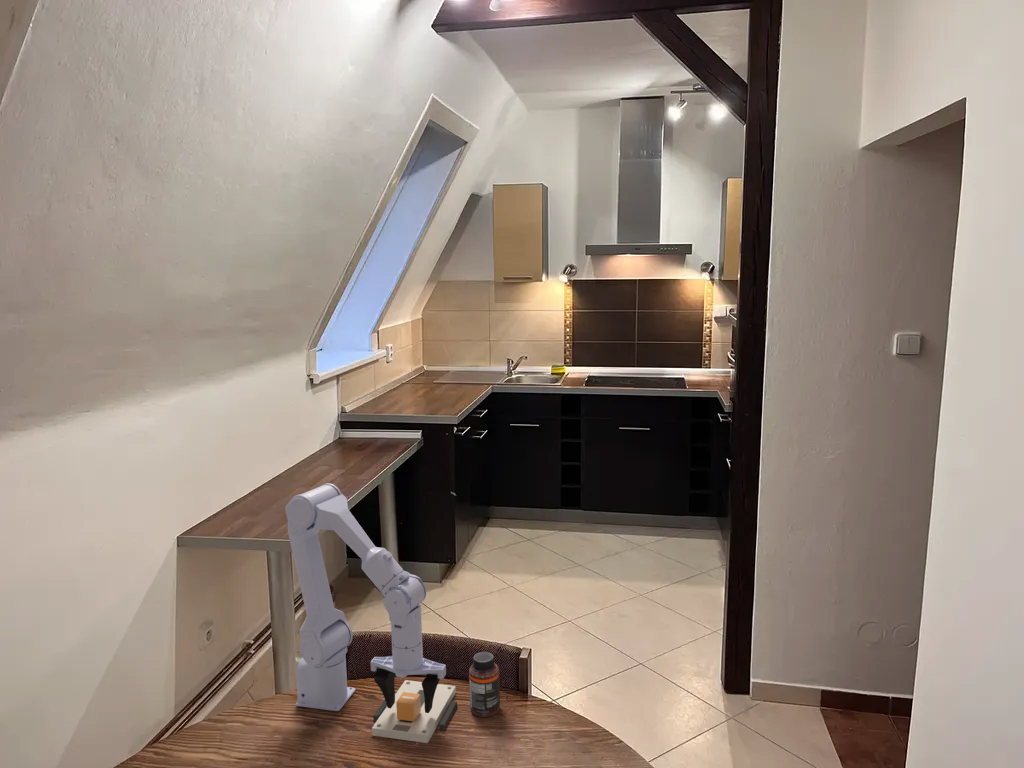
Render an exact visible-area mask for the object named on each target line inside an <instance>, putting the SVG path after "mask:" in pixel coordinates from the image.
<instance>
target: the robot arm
mask: <svg viewBox="0 0 1024 768" xmlns="http://www.w3.org/2000/svg"><path fill="white" fill-rule="evenodd" d="M284 510H285V513H286V515H285V516H286V519H287V535H288V539H289V543H290V548H291V551H292V552H291V553H292V557H293V561H294V564H295V565H294V566H295V570H296V574H297V579H298V583H299V586H300V591H301V595H302V596H301V597H302V600H303V604H304V609H305V613H306V617H305V619H304V621H303V623H302V625H301V627H300V628H299V631H298V633H299V636H300V637H299V638H300V640H299V652H300V656H301V658H300V660H299V661H298V664H297V667H296V677H295V678H296V688H297V689H296V690H297V692H296V693H297V701H296V703H295V705H296V707H303V708H308V709H309V708H310V709H319V710H325V711H333V712H340V711H341V710H342V708H343V707H344V706H345V705H346V703H347V702H348V700H349V699H350V698H351V697H352V696H353V694H354V693H355V692H356V688H355V687H353V686H352V687H351V686H348V677H347V658H346V657H347V656H346V654H347V653H348V646H349V645H350V644H351V643H352V641H353V637H354V636H353V630H352V628H351V626H350V624H349V622H348V621H347V619H346V616H345V615H346V614H345V612H344V611H342V610H339V609H337V608H335V606H334V600H333V596H332V592H331V588H330V583H329V578H328V574H327V570H326V564H325V561H324V556H323V552H322V547H321V543H320V539H319V532H320V531H321V530H323V531H334V532H335V533H336V535H337V536H338V537H340V538H341V540H343V542H344V543H345V544H346V545H347V546H348V548H349V547H350V549H351V550H352V551H353V552H354V553H355V554H356V555H357V556H358V557H359V558H360V559H361V570H362V571H363V572H364V573H365V575H366V576H367V577H368V578H369V579H370V581H371V583H373V584H374V586H376V588H377V589H378V590H379V591H380V593H381V594H382V595H383V596H384V598H383V599H382V603H383V605H384V608H385V610H386V611H387V613H388V619H389V621H390V630H391V631H390V632H391V633H390V634H391V654H392V655H390V656H374V657H373V658H372V659H371V660H370V671H371V672H376V673H375V675H374V682H375V684H376V685H377V686H378V687H379V689H380V691H381V693H382V695H383V698H384V700H385V701H386V704H387V707H388V708H391V707H392V706H393V705H394V703H395V694H396V689H395V679H396V677H397V678H406V677H407V676H412V675H413V676H414V675H415V676H417V675H421V676H425V678H424V679H423V680H422V681H421V682H422V688H423V692H424V698H425V713H429V712H430V710H431V709H432V704H433V698H434V694H435V691H436V688H437V685H438V684H440V680H443V679H444V678H445V676H446V675H447V665H446V664H444V663H440V662H437V661H433V660H430V659H427V658H425V657H424V655H423V654H424V653H423V651H424V650H423V629H422V627H423V625H422V623H423V622H422V605H421V604H422V603H424V602H423V601H425V600H426V596H427V587H426V585H425V583H424V582H423V581H422V579H421V578H420V577H419V576H417V575H415V574H411V573H410V572H409V571H406V570H404V569H403V567H402V566H401V565H400V564H399V563H398V562H397V560H395V558H394V557H393V556H394V555H393V554H392V553H391V552H390V551H388V550H387V549H386V548H385V547H381V546H380V547H377V546H376V545H375V544H374V543H373V540H371V539H370V537H369V535H367V533H366V532H365V530H364V529H363V527H362V526H361V525H360V524H359V522H358V521H357V519H356V518H355V516H354V515H353V514H352V512H351V511H350V510H349V505H348V498H347V497H346V496H345V495H344V494H343V493H342V491H341V489H340V488H339V487H338V486H336V485H335V484H333V483H328V482H327V483H323V484H321V485H320V486H318V487H316V488H313V489H311V490H308V491H306V492H303V493H300V494H296V495H294V496H293V497H291V499H289V501H288V503H287V504H286V506H285V507H284Z"/></svg>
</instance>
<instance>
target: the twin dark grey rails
mask: <svg viewBox="0 0 1024 768" xmlns="http://www.w3.org/2000/svg"><path fill="white" fill-rule="evenodd" d="M386 707H387V704H386V701H385V699H384V700H383V701H382V702H381V704H380V706H379V707H378V708H377V710H376V711H375V713H374V714H373V718H372V719H373V721H375V722H376V721H377V720H378V719H379V717H380V716H381V714H382V713H383V711H384V710H385V708H386ZM457 707H458V701H456V700H452V701H451V702H450V704H449V706H448V708H447V710H446V711H445V713H444V715H443V717H442V718H441V720H440V722H439V724H438V729H439V730H444V731H445V729H446V728H447V725H448V723H449V721H450V720H451V719H452V716H453V715H454V712H455V711H456V709H457Z"/></svg>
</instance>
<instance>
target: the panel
mask: <svg viewBox="0 0 1024 768" xmlns="http://www.w3.org/2000/svg"><path fill="white" fill-rule="evenodd" d="M422 682H423V681H418V680H417V681H415V680H408V679H407V680H406V679H405V680H404V681H403V683H402V684H401V686H400V687H399V688H398V690H397V691H396V692H395V703H394V705H393V706H392V707H391V708H388V707H386V708H385V710H384V711H383V713H382V714H381V716H380V717H379V719H378V720H377V721H375V723H374V724H373V726H372V727H371V736H375V737H382V738H387V739H388V738H390V739H393V740H395V739H396V740H404V741H411V742H417V743H423V744H428V743H429V742H430V740H431V738H432V736H433V734H434V733H435V732H436V729H437V727H439V724H440V722H441V720H442V718H443V716H444V715H445V713H446V711H447V709H448V707H449V706H450V704H451V702H452V701H453V699H454V698H455V695H456V693H457V690H456V689H457V687H456V685H452V684H451V685H449V684H441V683H438V685H437V688H436V691H435V694H434V698H433V704H432V709H431V710H430V712H429V713H425V698H424V692H423V688H422ZM403 692H406V693H414V694H420V701H421V712H420V713H419V715H418V716H417V718H416V720H415V721H407V720H399V719H397V706H396V702H397V700H398V699H399V698H400V696H401V695H402V693H403Z"/></svg>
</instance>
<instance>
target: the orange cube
mask: <svg viewBox="0 0 1024 768" xmlns="http://www.w3.org/2000/svg"><path fill="white" fill-rule="evenodd" d="M396 706H397V719H399V720H407V721H415V720H416V718H417V716H418V715H419V713H420V712H421V701H420V694H414V693H406V692H403V693H402V695H401V696H400V698H399V699H398V700H397V702H396Z"/></svg>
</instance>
